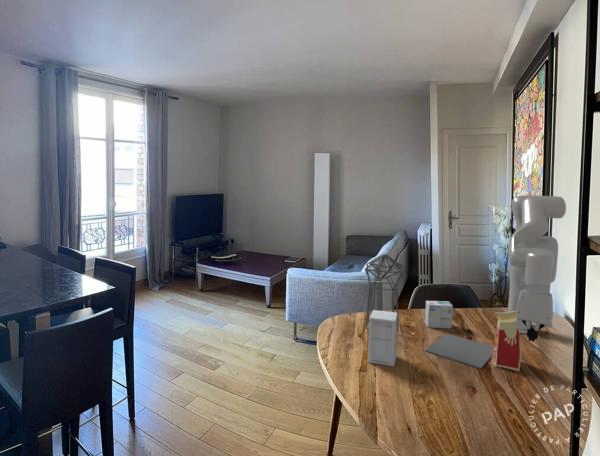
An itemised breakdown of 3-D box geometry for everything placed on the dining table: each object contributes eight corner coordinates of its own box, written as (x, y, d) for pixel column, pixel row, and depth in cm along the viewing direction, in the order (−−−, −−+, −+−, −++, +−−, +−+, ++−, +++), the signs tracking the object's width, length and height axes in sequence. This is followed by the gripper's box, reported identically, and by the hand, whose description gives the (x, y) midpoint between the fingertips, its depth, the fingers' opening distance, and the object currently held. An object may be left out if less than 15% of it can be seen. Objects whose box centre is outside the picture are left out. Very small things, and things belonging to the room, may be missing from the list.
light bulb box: (447, 323, 173) (449, 301, 172) (452, 329, 167) (453, 305, 165) (424, 322, 174) (425, 299, 173) (427, 327, 168) (428, 304, 166)
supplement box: (396, 355, 140) (398, 312, 138) (394, 367, 131) (396, 320, 129) (370, 351, 143) (372, 309, 141) (367, 362, 134) (368, 317, 132)
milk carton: (518, 360, 137) (522, 307, 135) (520, 371, 129) (525, 315, 127) (490, 355, 141) (494, 304, 139) (491, 365, 133) (495, 311, 131)
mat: (446, 334, 160) (446, 333, 160) (497, 349, 147) (498, 347, 147) (425, 351, 143) (425, 350, 143) (480, 369, 130) (480, 367, 130)
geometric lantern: (362, 341, 152) (364, 256, 148) (364, 328, 167) (366, 250, 164) (402, 345, 148) (405, 258, 145) (401, 331, 163) (404, 252, 160)
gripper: (509, 286, 129) (505, 337, 131) (561, 295, 119) (556, 350, 121) (514, 282, 134) (510, 331, 137) (564, 290, 125) (559, 342, 127)
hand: (531, 339), depth 129 cm, fingers closed
